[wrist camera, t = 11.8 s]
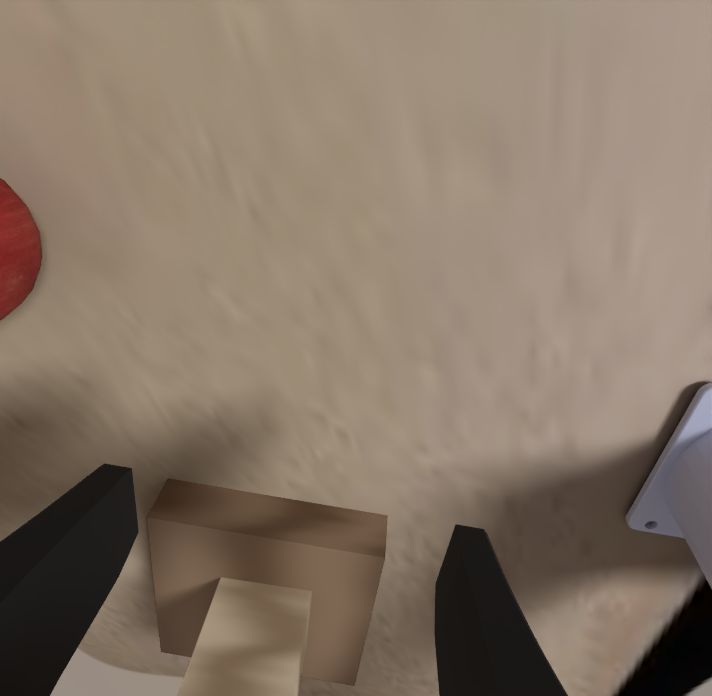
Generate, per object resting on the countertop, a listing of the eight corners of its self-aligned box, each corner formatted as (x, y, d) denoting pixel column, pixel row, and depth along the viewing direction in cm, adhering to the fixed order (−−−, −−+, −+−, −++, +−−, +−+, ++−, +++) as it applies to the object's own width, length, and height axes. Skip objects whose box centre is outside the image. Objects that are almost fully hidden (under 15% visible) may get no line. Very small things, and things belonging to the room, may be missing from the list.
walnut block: (388, 507, 26) (384, 557, 24) (359, 633, 32) (354, 685, 30) (172, 471, 27) (146, 517, 24) (181, 602, 32) (160, 652, 30)
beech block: (312, 591, 26) (285, 729, 20) (307, 644, 28) (282, 781, 23) (220, 576, 26) (172, 710, 21) (223, 631, 28) (179, 764, 23)
